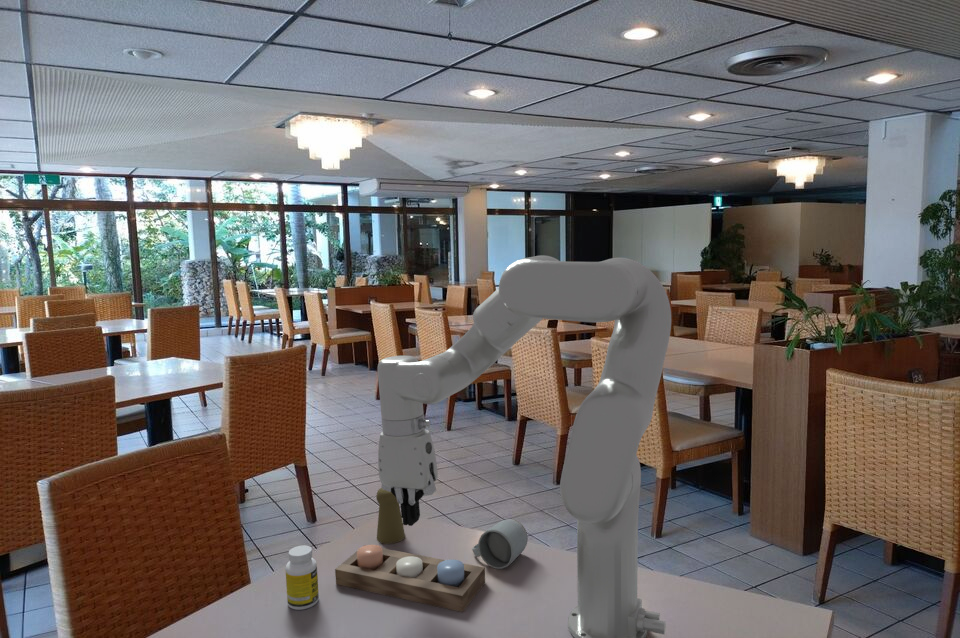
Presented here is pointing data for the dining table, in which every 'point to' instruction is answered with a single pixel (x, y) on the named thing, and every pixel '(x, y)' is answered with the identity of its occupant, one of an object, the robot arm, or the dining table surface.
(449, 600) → the wooden compartment tray
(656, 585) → the dining table surface
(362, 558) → the pink rounded dome
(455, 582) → the blue rounded knob
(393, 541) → the olive game pawn
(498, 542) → the ceramic mug
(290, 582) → the supplement bottle
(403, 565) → the cream button
